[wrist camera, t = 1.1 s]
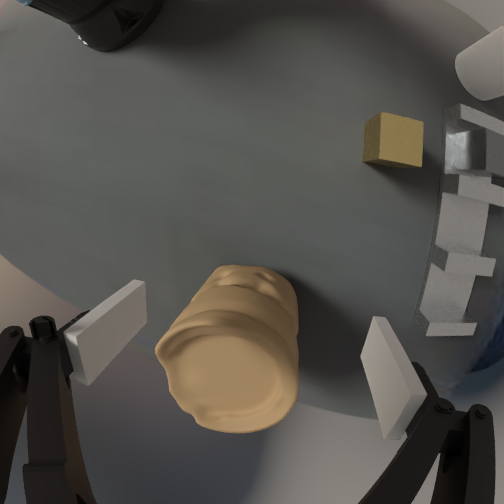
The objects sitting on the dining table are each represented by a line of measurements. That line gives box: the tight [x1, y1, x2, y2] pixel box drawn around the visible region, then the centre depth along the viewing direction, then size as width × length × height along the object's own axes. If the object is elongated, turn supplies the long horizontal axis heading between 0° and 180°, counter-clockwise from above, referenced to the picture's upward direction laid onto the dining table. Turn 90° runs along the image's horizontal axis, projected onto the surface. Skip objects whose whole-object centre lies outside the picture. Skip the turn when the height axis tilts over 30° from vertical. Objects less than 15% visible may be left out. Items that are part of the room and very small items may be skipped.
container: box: [155, 265, 299, 433], centre depth 30 cm, size 13×13×18 cm
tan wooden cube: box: [363, 112, 423, 168], centre depth 28 cm, size 5×5×7 cm
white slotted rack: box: [413, 103, 504, 336], centre depth 28 cm, size 30×9×8 cm, turn 176°
